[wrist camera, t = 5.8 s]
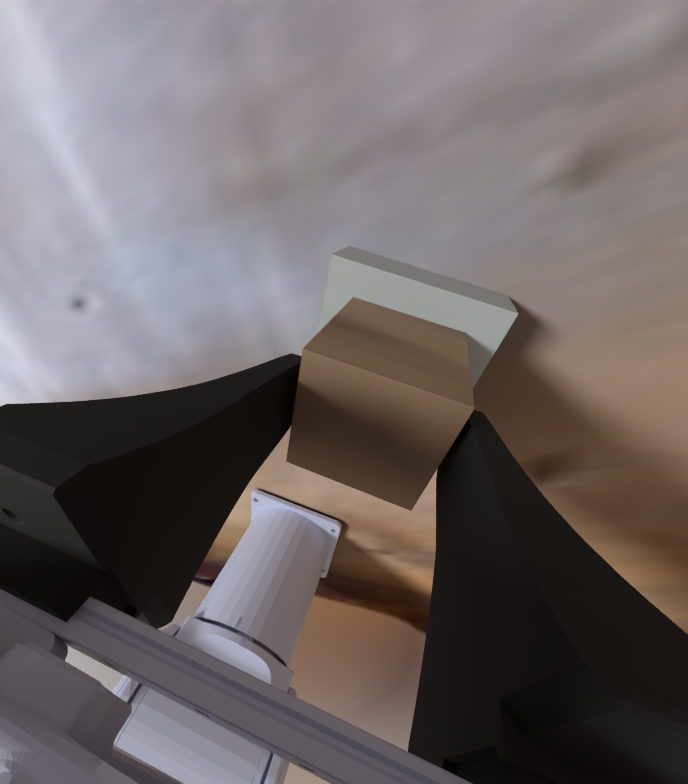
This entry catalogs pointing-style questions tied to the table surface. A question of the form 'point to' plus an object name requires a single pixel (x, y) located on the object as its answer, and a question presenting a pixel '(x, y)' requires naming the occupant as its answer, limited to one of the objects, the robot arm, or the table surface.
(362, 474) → the walnut block
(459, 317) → the grey block
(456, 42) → the table surface
